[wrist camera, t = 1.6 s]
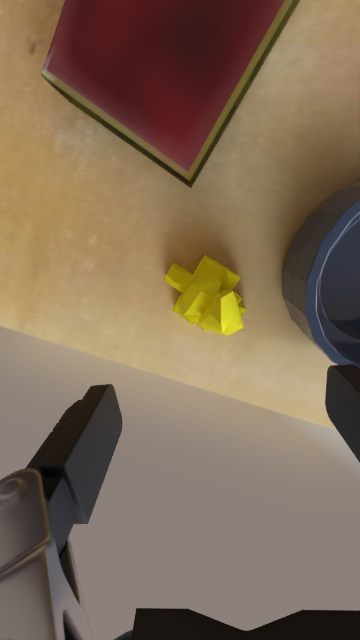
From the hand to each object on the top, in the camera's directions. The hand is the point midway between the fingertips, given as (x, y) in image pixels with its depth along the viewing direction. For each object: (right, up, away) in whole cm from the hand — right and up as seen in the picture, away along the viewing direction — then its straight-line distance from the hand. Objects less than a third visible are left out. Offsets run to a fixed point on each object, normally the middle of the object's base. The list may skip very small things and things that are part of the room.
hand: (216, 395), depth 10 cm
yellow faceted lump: (+1, +6, +15) cm, 17 cm away
